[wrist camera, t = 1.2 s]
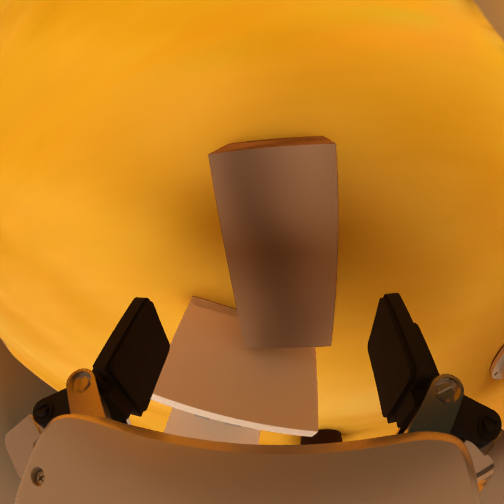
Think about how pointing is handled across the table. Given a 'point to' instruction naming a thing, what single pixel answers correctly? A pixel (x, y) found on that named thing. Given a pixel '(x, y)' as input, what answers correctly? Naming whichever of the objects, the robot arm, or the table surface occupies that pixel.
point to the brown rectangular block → (280, 237)
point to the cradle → (234, 381)
